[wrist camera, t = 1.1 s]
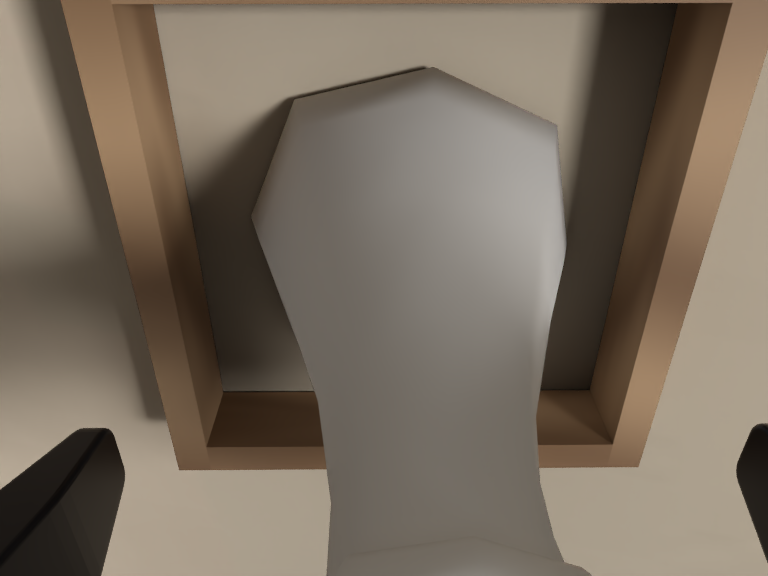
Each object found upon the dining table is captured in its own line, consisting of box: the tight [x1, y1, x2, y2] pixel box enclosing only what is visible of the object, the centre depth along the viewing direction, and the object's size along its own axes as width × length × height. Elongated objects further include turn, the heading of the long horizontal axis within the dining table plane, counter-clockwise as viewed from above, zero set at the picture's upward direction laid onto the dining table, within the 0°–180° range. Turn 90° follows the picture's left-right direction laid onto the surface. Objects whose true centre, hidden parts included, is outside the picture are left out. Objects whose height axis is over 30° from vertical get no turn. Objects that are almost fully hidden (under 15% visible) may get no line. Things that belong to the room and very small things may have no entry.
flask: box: [251, 67, 591, 576], centre depth 10 cm, size 7×7×10 cm
